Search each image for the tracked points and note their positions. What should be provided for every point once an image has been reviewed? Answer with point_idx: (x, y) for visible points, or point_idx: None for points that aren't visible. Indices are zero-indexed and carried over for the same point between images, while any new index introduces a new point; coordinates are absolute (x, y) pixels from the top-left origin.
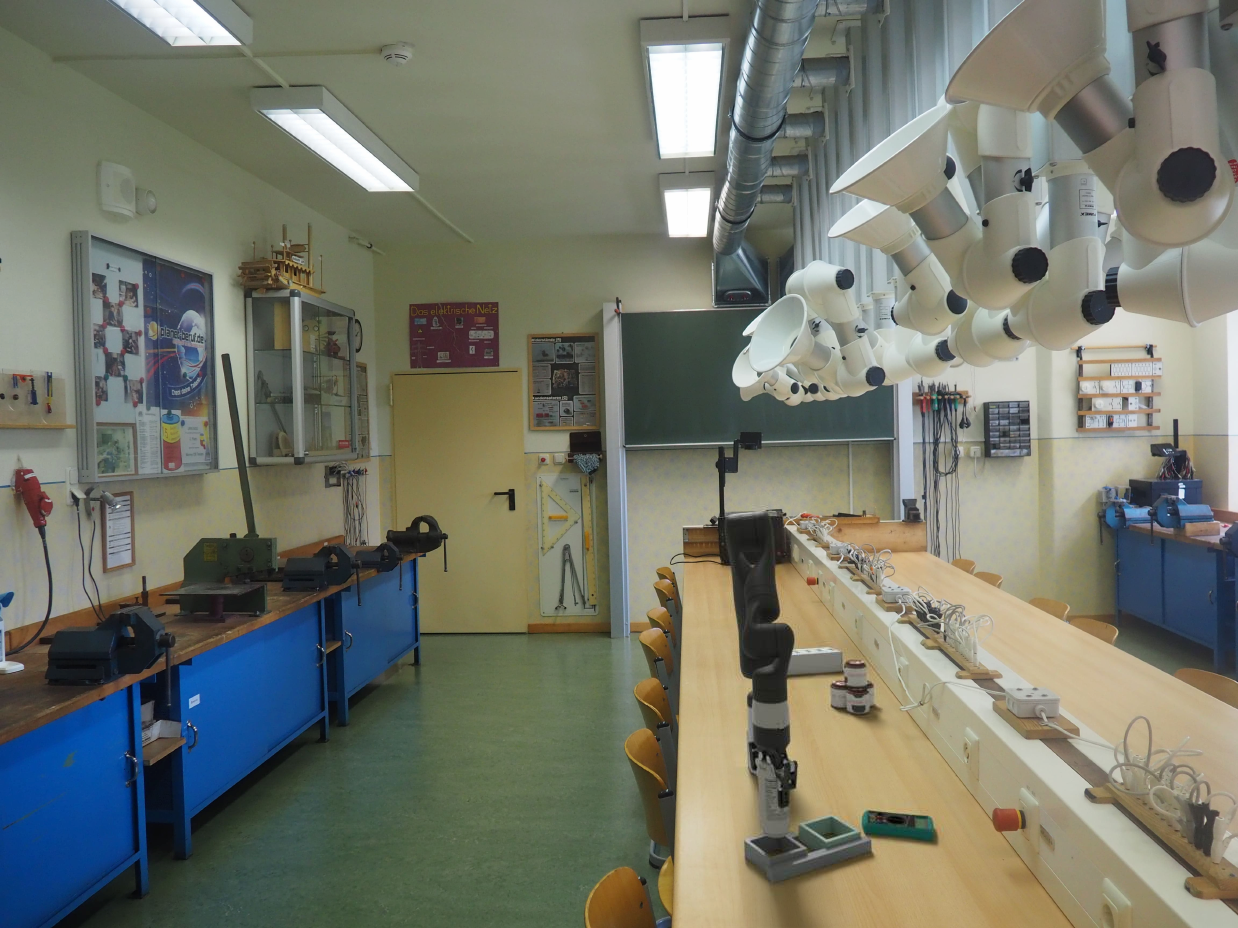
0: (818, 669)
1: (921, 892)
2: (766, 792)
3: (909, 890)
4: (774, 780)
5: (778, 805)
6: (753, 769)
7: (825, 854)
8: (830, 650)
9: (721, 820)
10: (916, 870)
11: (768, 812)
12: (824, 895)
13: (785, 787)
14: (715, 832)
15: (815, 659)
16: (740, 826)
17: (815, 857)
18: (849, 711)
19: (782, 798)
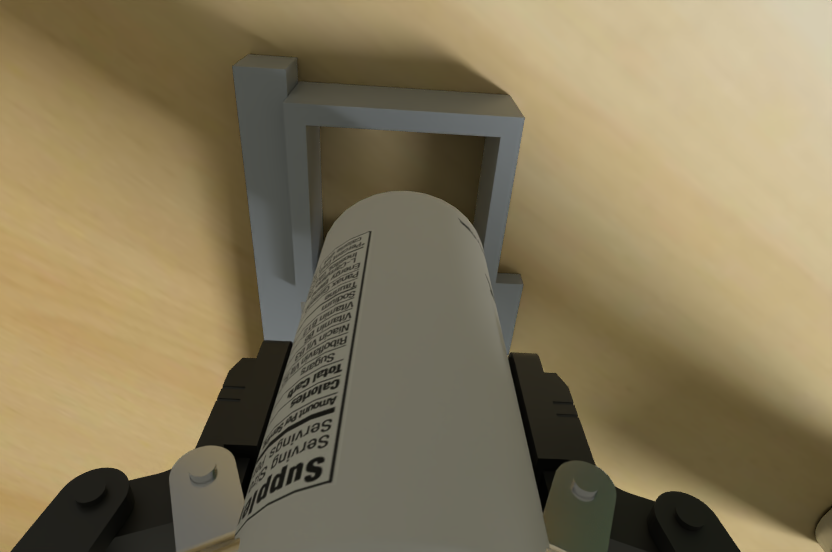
0: None
1: (27, 414)
2: (338, 361)
3: (46, 399)
4: (245, 513)
5: (283, 343)
6: (668, 504)
7: (263, 333)
8: None
9: (812, 205)
10: (143, 467)
11: (347, 265)
12: (87, 178)
13: (74, 503)
14: (768, 116)
15: None
16: (707, 238)
17: (259, 294)
18: None
19: (231, 401)
